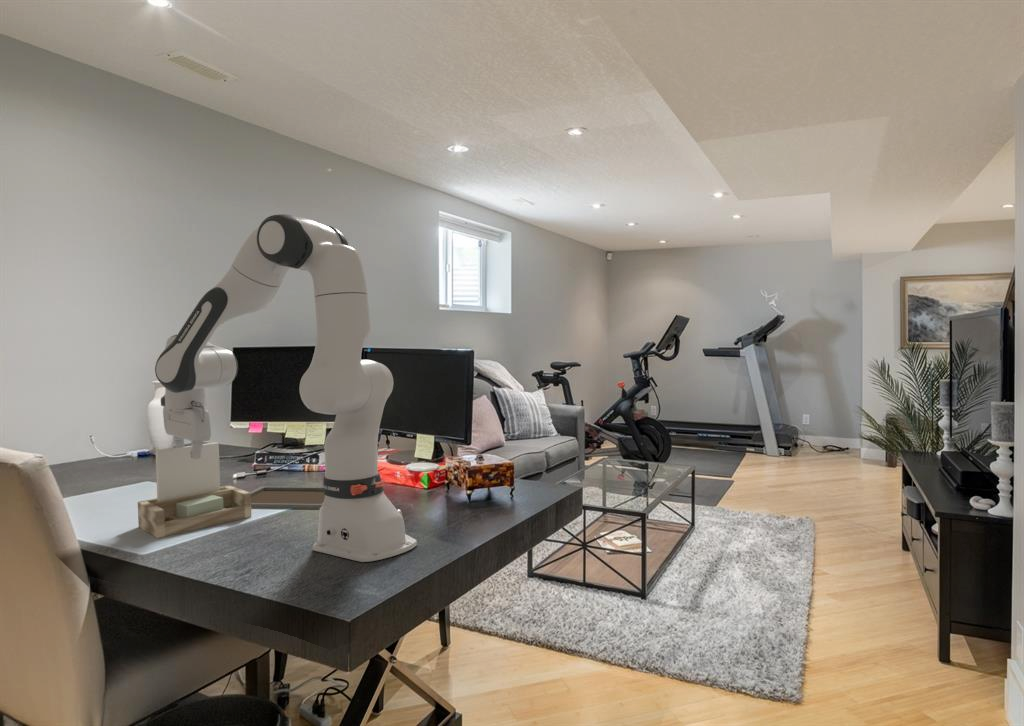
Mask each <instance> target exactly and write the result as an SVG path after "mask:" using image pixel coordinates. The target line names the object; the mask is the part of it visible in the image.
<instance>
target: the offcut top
mask: <svg viewBox="0 0 1024 726" xmlns="http://www.w3.org/2000/svg"><path fill="white" fill-rule="evenodd" d="M223 509H224V508H223V497H219V496H215V495H210V496H206V497H202V498H198V499H193V500H189V501H185V502H181V503H177V504H176V511H177V516H178V517H181V518H185V517H189V516H194V515H199V514H204V513H208V512H213V511H218V510H223Z"/></svg>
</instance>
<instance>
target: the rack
mask: <svg viewBox="0 0 1024 726" xmlns="http://www.w3.org/2000/svg"><path fill="white" fill-rule="evenodd" d="M250 492H251V491H247V490H244V489H241V488H238V487H235V486H232V485H229V484H228V485H227V484H226V485H224V486H223V485H222V486H220V491H215V492H210V493H204V494H199V495H194V496H188V497H183V498H178V499H172V500H167V501H162V502H157V497H156V498H151V499H145V500H141V501H137V514H138V516H137V518H138V528H140V529H141V530H143V531H145V532H146V533H148V534H150V535H151V536H153V537H155V538H157V539H160V538H163V537H168V536H172V535H178V534H181V533H186V532H191V531H194V530H199V529H203V528H207V527H212V526H216V525H217V526H218V525H221V524H225V523H230V522H235V521H238V520H243V519H247V518H252V508H251V493H250ZM210 495H215V496H219V497H223V507H224V508H227V509H223V510H218V511H213V512H208V513H204V514H199V515H194V516H189V517H185V518H180V519H175V520H170V521H169V517H172V516H176V515H177V511H176V504H177V503H181V502H185V501H189V500H193V499H198V498H202V497H206V496H210Z"/></svg>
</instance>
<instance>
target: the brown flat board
mask: <svg viewBox="0 0 1024 726" xmlns="http://www.w3.org/2000/svg"><path fill="white" fill-rule="evenodd" d="M249 492H250V493H251V509H292V510H293V509H295V510H296V509H300V510H301V509H302V510H303V509H304V510H307V509H309V510H312V509H313V510H320V507H321V506H322V504H323V502H324V499H325V494H324V493H323V486H270V485H269V486H266V485H265V486H263V485H262V486H259V487H258V488H257V487H256V488H255V489H253V490H251V491H249Z"/></svg>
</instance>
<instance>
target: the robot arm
mask: <svg viewBox="0 0 1024 726" xmlns="http://www.w3.org/2000/svg"><path fill="white" fill-rule="evenodd" d="M290 269H295V270H301V271H307V272H308V274H310V276H311V278H312V283H313V295H314V307H315V319H316V341H315V347H314V353H313V355H312V359H311V362H310V364H309V367H308V368H307V369H306V371H305V372H304V373H303V375H302V376H301V378H300V382H299V390H298V391H299V395H300V399H301V401H302V403H303V405H304V406H305V407H306V408H307V409H309V411H311V412H314V413H318V414H323V415H332V416H333V415H335V419H334V423H333V424H332V428H331V430H330V431H329V433H328V434H327V436H326V438H325V441H324V445H323V446H324V471H325V472H324V474H325V475H324V476H323V478H322V479H323V480H322V481H323V482H322V487H323V493H324V494H325V499H324V502H323V504H322V506H321V507H320V509H318V510H319V513H318V528H317V541H316V542H315V543H313V545H312V551H315V552H318V553H321V554H322V553H324V554H327V555H330V556H335V557H340V558H343V559H346V560H347V559H348V560H352V561H355V562H360V563H366V562H375V561H379V560H380V561H381V560H383V559H384V560H385V559H388V558H392V557H394V556H397V555H400V554H403V553H406V552H408V551H410V550H412V549H414V548H416V547H417V546H418V541H417V539H415V538H413V537H412V536H411V535H409V534H406V528H405V520H404V517H403V512H402V510H401V509H397V508H396V507H395V505H394V504H393V502H392V501H390V499H389V497H387V495H386V494H385V493H384V490H385V489H384V487H385V486H386V484H384V483H386V480H382V477H381V473H379V472H378V471H379V469H378V467H379V466H378V465H379V464H378V463H379V462H378V461H379V460H378V459H379V458H378V457H379V456H378V455H379V454H378V453H379V452H378V443H379V442H378V441H379V433H380V431H379V430H380V425H381V423H382V422H381V421H382V418H383V413H384V409H385V405H386V402H387V400H388V399H389V397H390V395H391V394H392V392H393V389H394V377H393V373H392V371H391V370H390V369H389V368H388V366H386V365H385V364H383V363H381V362H378V361H375V360H372V359H366V358H365V359H362V352H363V347H364V343H365V340H366V338H367V337H368V336H369V335H370V331H371V320H370V308H369V307H370V306H369V296H368V288H367V281H366V277H365V271H364V267H363V263H362V260H361V257H360V254H359V252H358V251H357V250H356V249H355V248H354V247H352V246H350V245H349V242H348V240H347V237H346V236H345V235H344V234H343V233H342V232H341V231H340V230H338V229H337V228H334V227H333V226H330V225H325V224H323V223H320V222H317V221H314V220H312V219H310V218H305V217H300V216H294V215H293V216H292V215H290V214H286V213H285V214H284V213H283V214H281V213H280V214H279V213H278V214H273V215H270V216H268V217H266V218H265V219H263V221H262V222H261V223H260V225H259V227H258V228H256V229H254V230H253V231H252V232H250V234H249V235H248V237H246V240H245V241H244V242H243V244H242V246H241V247H240V249H239V250H238V252H237V254H236V256H235V257H234V260H233V262H232V263H231V265H230V268H228V271H227V272H226V274H224V276H223V277H222V278H221V280H220V281H219V282H218V283H217V284H216V285H214V286H213V287H212V288H211V289H210V290H208V291H207V292H206V293H205V294H203V296H202V297H201V299H200V300H199V301H198V302H197V304H196V306H194V308H193V310H192V312H191V313H190V315H189V316H188V317H187V319H186V321H185V322H184V324H183V326H182V327H181V329H180V330H179V332H178V333H177V334H175V335H171V336H170V337H168V338H167V340H166V343H165V349H164V350H163V351H162V352H161V353H160V355H159V356H158V358H157V360H156V362H155V367H154V372H155V376H156V379H157V380H158V382H159V383H160V384H161V386H163V387H164V388H165V389H164V390H165V392H164V395H163V396H161V397H160V406H161V407H163V409H162V418H163V425H164V431H165V433H166V435H169V436H172V440H173V443H174V446H175V448H176V447H184V446H185V441H184V440H188V441H191V445H190V446H192V451H190V453H191V458H192V459H199V458H200V457H201V449H202V445H203V444H204V442H208V441H210V440H211V437H212V429H211V419H210V413H209V411H208V409H206V408H205V407H207V404H208V403H207V400H208V399H207V389H211V388H218V387H220V388H221V387H224V386H227V385H229V384H232V383H233V382H234V381H235V379H236V377H237V375H238V371H239V364H238V359H237V357H236V355H235V353H234V352H233V351H232V350H230V349H229V348H226V347H221V346H218V345H216V344H213V343H211V342H210V339H211V338H212V336H213V335H214V333H215V332H216V330H217V329H218V328H219V327H220V326H222V325H223V324H224V323H226V322H228V321H230V320H233V319H235V318H238V317H242V316H244V315H249V314H252V313H256V312H259V311H261V310H263V309H265V308H266V307H267V306H268V305H269V304H271V302H272V301H273V300H274V298H275V297H276V295H277V292H279V290H280V287H281V285H282V283H283V281H284V278H285V276H286V274H287V273H288V271H289V270H290Z"/></svg>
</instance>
